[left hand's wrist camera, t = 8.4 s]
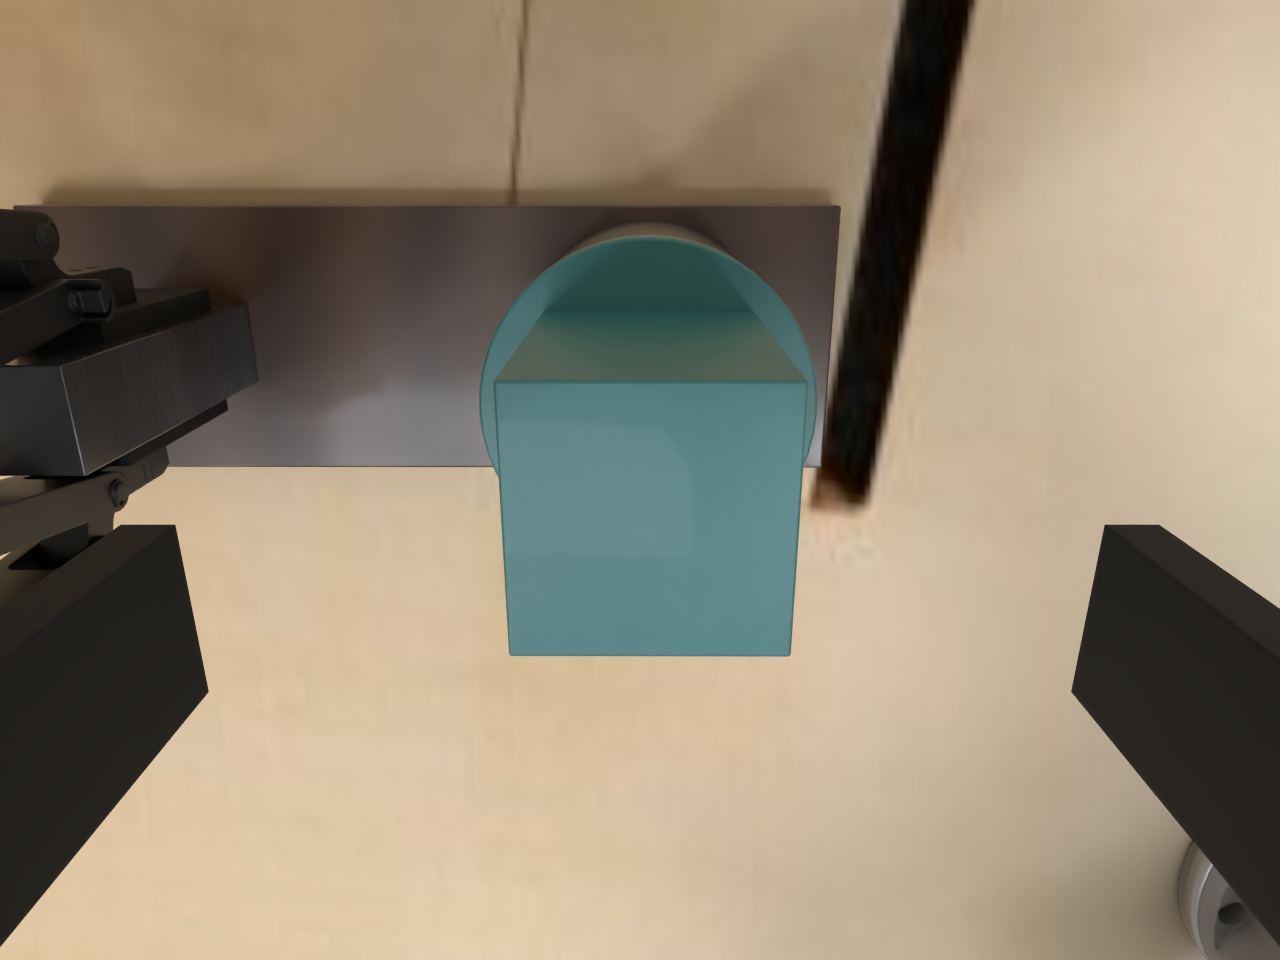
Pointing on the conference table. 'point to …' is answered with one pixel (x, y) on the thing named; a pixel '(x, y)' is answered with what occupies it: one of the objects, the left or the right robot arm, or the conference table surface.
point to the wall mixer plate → (345, 324)
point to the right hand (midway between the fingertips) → (180, 350)
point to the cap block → (649, 454)
